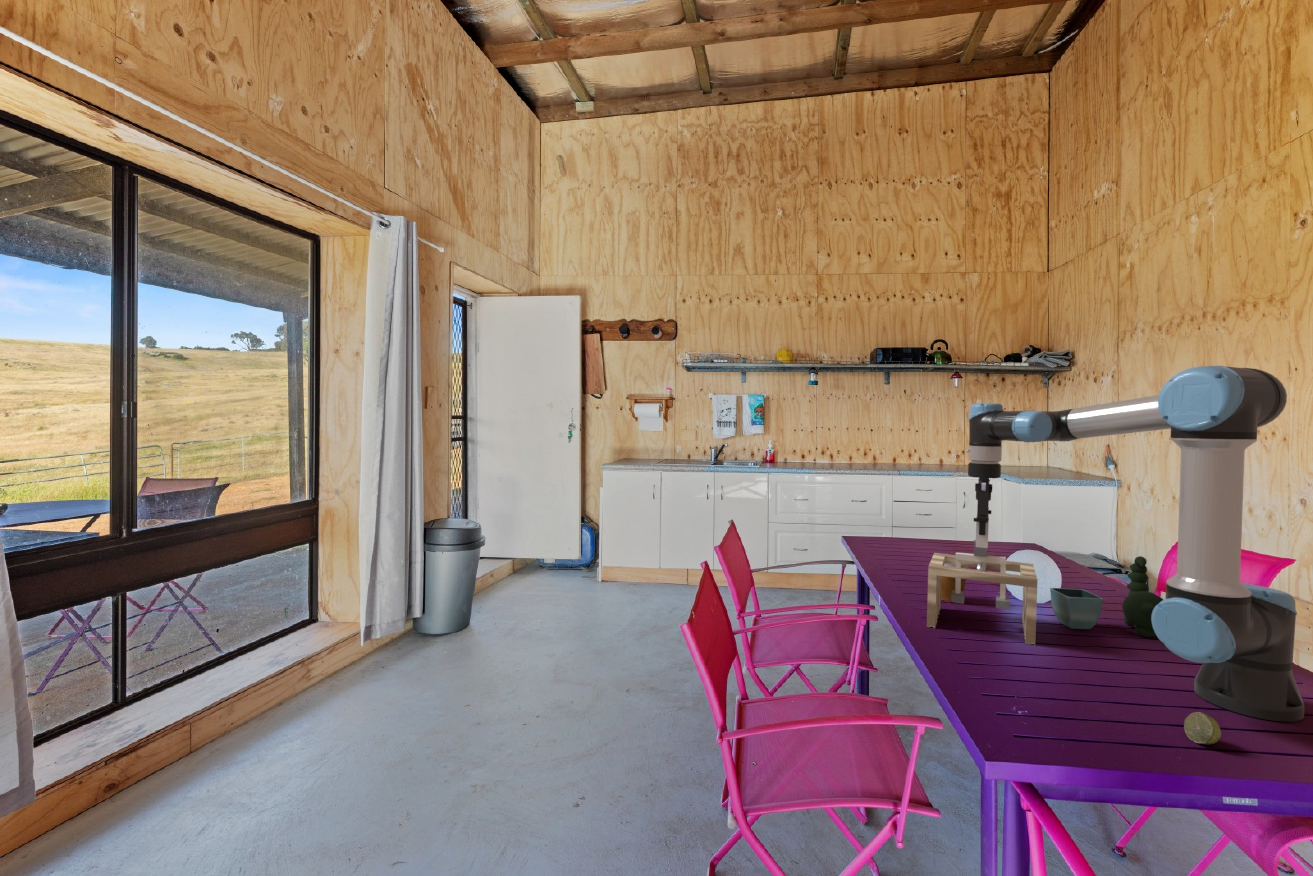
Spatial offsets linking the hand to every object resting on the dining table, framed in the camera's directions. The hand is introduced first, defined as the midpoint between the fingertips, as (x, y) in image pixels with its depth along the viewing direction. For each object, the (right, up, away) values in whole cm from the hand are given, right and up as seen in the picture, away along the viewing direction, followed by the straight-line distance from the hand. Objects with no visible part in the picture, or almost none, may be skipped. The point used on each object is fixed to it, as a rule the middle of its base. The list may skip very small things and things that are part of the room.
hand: (982, 542), depth 156 cm
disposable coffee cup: (+3, -21, +22) cm, 31 cm away
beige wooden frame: (0, -22, +1) cm, 22 cm away
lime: (+7, -25, -55) cm, 61 cm away
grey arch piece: (0, -16, +1) cm, 16 cm away
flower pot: (+25, -23, 0) cm, 33 cm away
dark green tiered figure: (+41, -23, -1) cm, 47 cm away
